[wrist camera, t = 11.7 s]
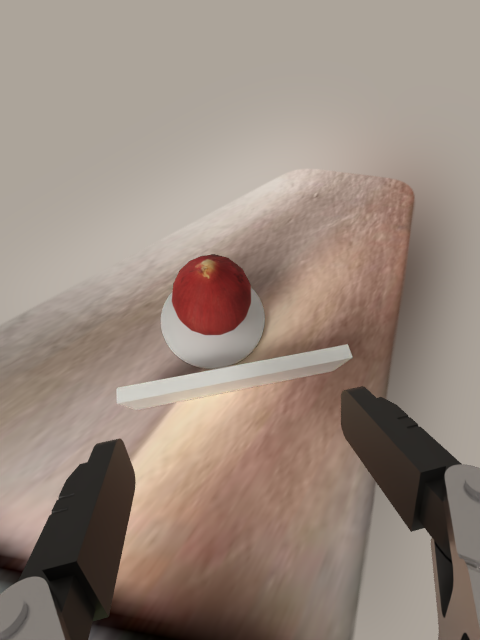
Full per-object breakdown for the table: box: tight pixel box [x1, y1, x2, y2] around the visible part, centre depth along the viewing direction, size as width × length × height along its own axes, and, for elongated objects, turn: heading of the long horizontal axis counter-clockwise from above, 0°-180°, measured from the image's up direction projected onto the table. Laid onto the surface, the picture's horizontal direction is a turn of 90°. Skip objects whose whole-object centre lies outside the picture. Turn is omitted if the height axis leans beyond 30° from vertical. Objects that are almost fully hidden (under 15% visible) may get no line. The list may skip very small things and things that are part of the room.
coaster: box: [161, 288, 265, 369], centre depth 24 cm, size 9×9×1 cm
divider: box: [117, 344, 353, 410], centre depth 20 cm, size 16×1×4 cm, turn 101°
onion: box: [172, 254, 251, 335], centre depth 20 cm, size 6×6×8 cm
